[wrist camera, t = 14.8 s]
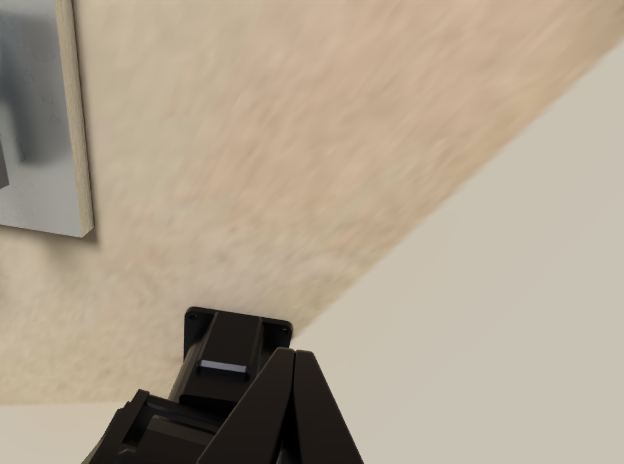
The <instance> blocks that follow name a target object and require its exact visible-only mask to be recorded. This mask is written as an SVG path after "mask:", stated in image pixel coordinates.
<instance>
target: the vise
mask: <svg viewBox="0 0 624 464" xmlns="http://www.w3.org/2000/svg"><path fill="white" fill-rule="evenodd" d="M0 139H1V144H2V149H3V154H4V159H5V164H6V169H7V174H8V179H9V184H10V185H8V186H6V187H4V188H2V189H0V224H1V225H7V226H13V227H19V228H25V229H32V230H38V231H44V232H50V233H56V234H63V235H69V236H75V237H81V238H82V237H83V236H84V235H86V234H87V233H88V232H89V231H90V230H92V229H93V228H94V221H93V211H92V201H91V191H90V180H89V170H88V160H87V150H86V140H85V130H84V120H83V110H82V99H81V89H80V79H79V69H78V59H77V49H76V39H75V29H74V18H73V8H72V0H0Z"/></svg>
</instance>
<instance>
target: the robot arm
mask: <svg viewBox="0 0 624 464" xmlns="http://www.w3.org/2000/svg"><path fill="white" fill-rule="evenodd" d="M191 314H194V315H196V316H192V315H191ZM282 328H285V329H287V330H282ZM291 335H292V324H291V323H290V322H288V321H284V320H278V319H271V318H265V317H258V316H252V315H246V314H239V313H233V312H226V311H220V310H213V309H207V308H200V307H190V308H188V309H187V311H186V313H185V321H184V361H183V365H182V367H181V370H180V372H179V374H178V377H177V379H176V381H175V383H174V386H173V388H172V390H171V393H170V395H169V397H168V400H167V399H164V398H161V397H157V396H154V395H151V394H150V392H148V391H145V390H141V389H139V390H138V391H137V393H136V395H135V396H134V398H133V399H132V401H131V402H129V401H128V402H127V403H126V405H125V406H124V408H120V409H118V410H117V411H116V413H115V415H114V417H113V419H112V420H111V422H110V424H109V426H108V428H107V429H106V431H105V433H104V435H103V436H102V438H101V440H100V441H99V442H98V444H97V445H96V446H95V447H94V449H93V450H92V451H91V452H90V454H89V455H88V456H87V457H86V459H85V460H84V461H83V462H82V463H81V464H364V462H363V460H362V458H361V456H360V454H359V452H358V449H357V447H356V445H355V443H354V441H353V439H352V436H351V434H350V432H349V430H348V428H347V425H346V424H345V421H344V419H343V417H342V414H341V412H340V410H339V408H338V406H337V404H336V401H335V399H334V397H333V395H332V393H331V390H330V388H329V386H328V384H327V382H326V380H325V377H324V376H323V373H322V371H321V369H320V367H319V364H318V362H317V360H316V358H315V356H314V354H313V353H312V352H311V351H304V350H296V351H294V350H293V349H290V348H289V346H290V340H291Z"/></svg>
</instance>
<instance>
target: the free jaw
mask: <svg viewBox="0 0 624 464" xmlns="http://www.w3.org/2000/svg"><path fill="white" fill-rule="evenodd" d="M8 185H10V184H9V179H8V174H7V169H6V164H5V159H4V154H3V149H2V144H1V139H0V189H2V188H4V187H6V186H8Z"/></svg>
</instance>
